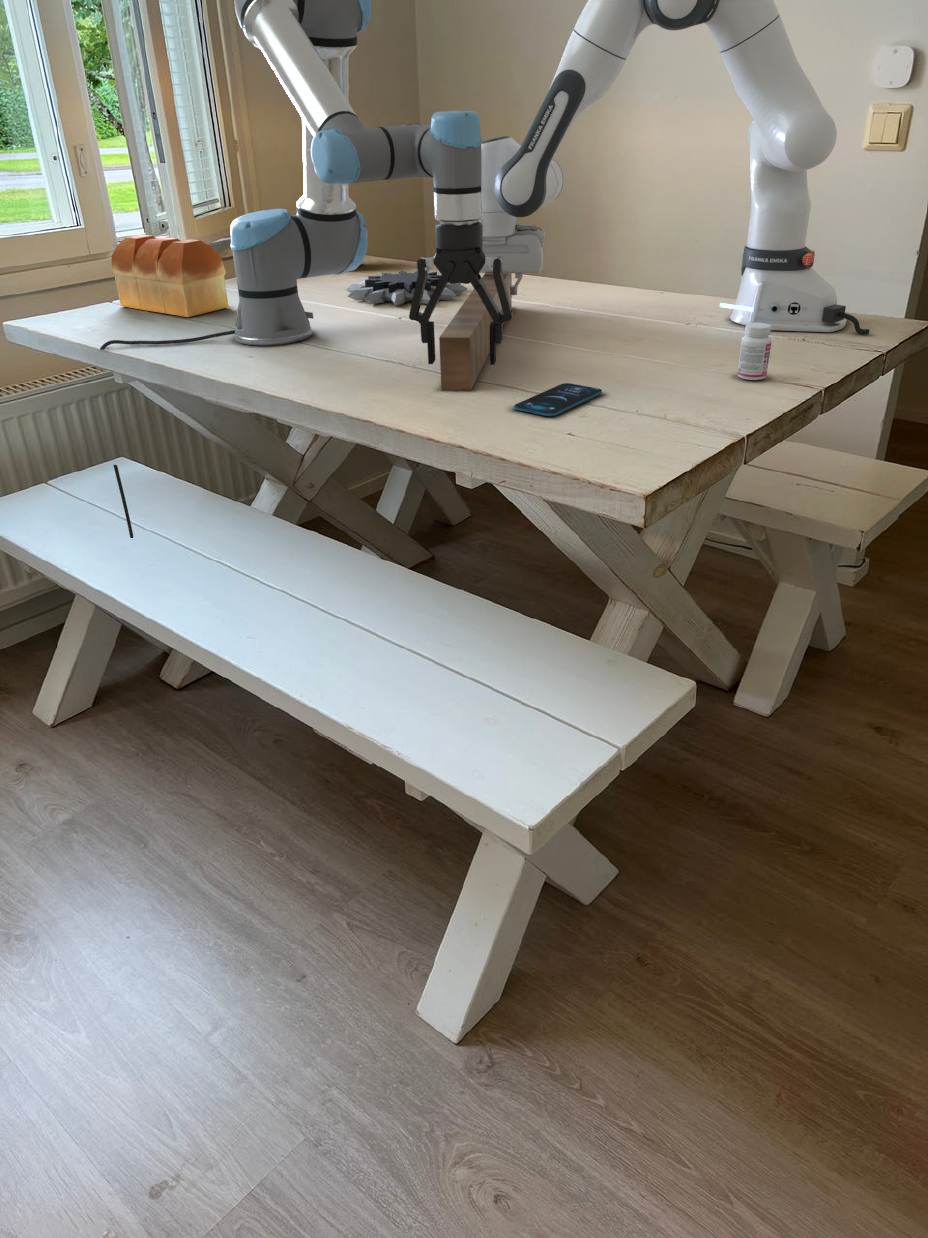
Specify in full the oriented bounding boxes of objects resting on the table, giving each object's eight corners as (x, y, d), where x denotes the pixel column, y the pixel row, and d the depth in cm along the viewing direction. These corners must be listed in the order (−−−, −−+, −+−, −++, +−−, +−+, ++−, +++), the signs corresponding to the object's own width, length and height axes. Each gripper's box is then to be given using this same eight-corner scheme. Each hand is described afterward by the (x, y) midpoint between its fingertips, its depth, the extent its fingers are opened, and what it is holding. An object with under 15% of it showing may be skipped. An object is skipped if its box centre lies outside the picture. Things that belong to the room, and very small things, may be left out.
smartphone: (510, 405, 145) (564, 381, 155) (510, 409, 145) (564, 385, 155) (552, 414, 141) (604, 389, 151) (552, 418, 141) (604, 393, 151)
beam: (470, 390, 155) (469, 337, 151) (441, 390, 156) (439, 337, 151) (511, 307, 209) (511, 266, 205) (489, 307, 210) (489, 267, 206)
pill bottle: (768, 380, 155) (775, 328, 150) (738, 380, 155) (744, 328, 151) (765, 372, 159) (772, 321, 155) (736, 372, 160) (742, 321, 155)
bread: (118, 306, 222) (104, 238, 214) (161, 296, 230) (149, 231, 223) (188, 317, 209) (176, 246, 201) (231, 306, 217) (221, 238, 210)
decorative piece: (415, 294, 204) (314, 282, 220) (416, 313, 206) (316, 299, 222) (493, 272, 225) (396, 262, 241) (494, 289, 227) (397, 278, 243)
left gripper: (531, 217, 151) (530, 357, 162) (394, 218, 154) (402, 355, 165) (527, 223, 144) (526, 369, 156) (384, 225, 148) (393, 367, 159)
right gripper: (546, 222, 195) (545, 291, 202) (449, 223, 198) (451, 291, 205) (544, 226, 190) (543, 297, 197) (444, 227, 193) (446, 297, 200)
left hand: (462, 362), depth 160 cm, fingers open, 10 cm apart
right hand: (495, 294), depth 201 cm, fingers open, 6 cm apart
